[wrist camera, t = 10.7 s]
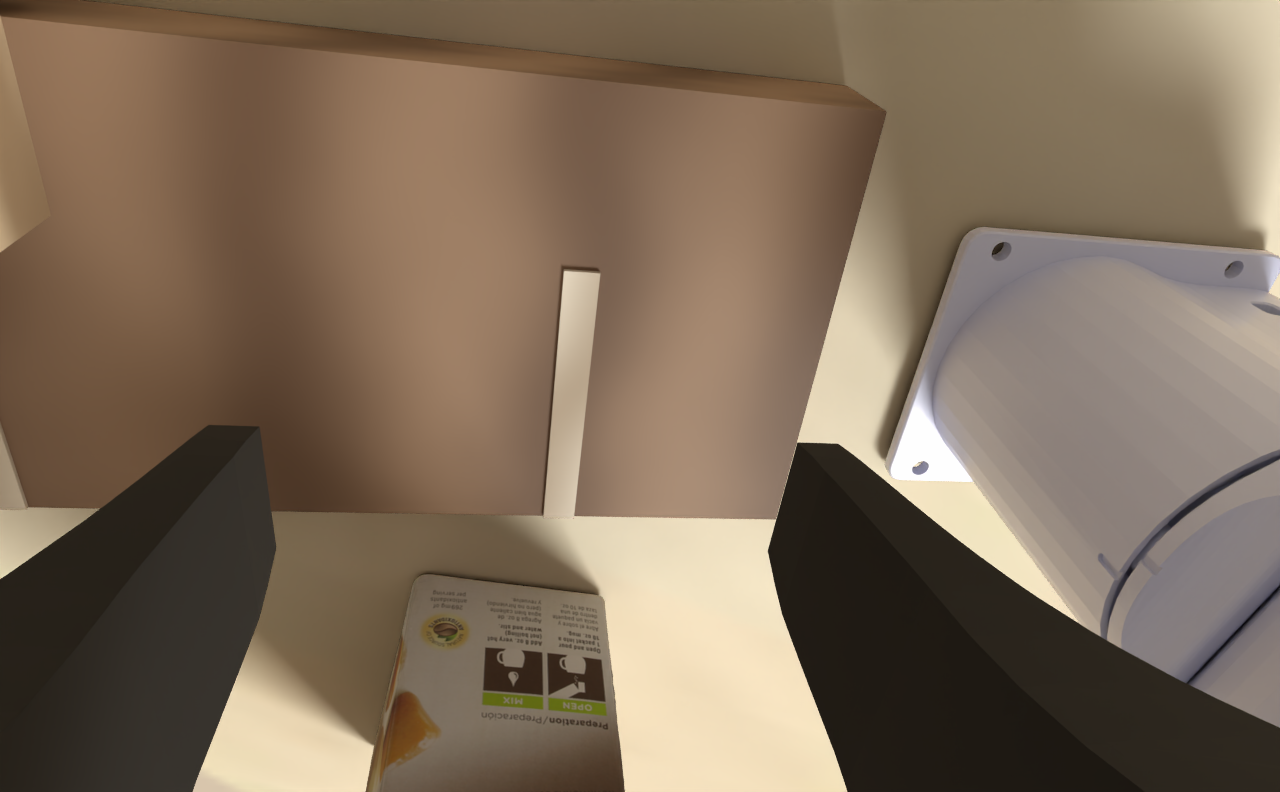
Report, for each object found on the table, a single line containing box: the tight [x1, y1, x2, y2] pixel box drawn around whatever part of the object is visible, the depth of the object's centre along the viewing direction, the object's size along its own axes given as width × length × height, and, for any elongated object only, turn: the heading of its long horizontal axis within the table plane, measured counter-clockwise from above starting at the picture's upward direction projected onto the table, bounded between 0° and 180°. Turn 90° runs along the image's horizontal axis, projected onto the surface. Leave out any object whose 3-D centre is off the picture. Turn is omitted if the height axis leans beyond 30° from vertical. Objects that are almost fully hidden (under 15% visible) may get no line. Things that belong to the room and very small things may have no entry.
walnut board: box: [0, 0, 887, 519], centre depth 19 cm, size 24×11×3 cm, turn 83°
